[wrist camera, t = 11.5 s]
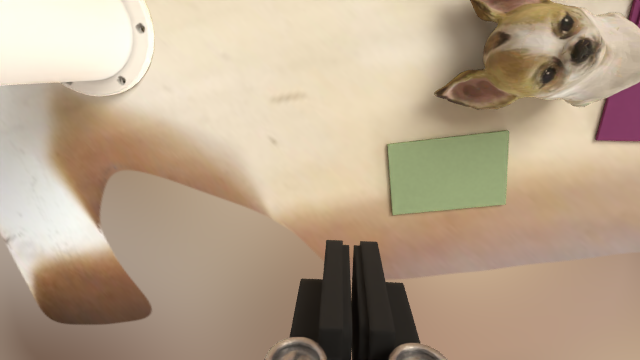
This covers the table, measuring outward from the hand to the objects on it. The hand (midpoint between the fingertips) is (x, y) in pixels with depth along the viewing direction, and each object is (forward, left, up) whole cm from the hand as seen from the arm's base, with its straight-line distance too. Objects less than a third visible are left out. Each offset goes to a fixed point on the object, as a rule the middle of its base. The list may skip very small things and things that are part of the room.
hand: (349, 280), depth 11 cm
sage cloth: (+11, -4, -25) cm, 28 cm away
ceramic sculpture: (+16, +8, -25) cm, 31 cm away
